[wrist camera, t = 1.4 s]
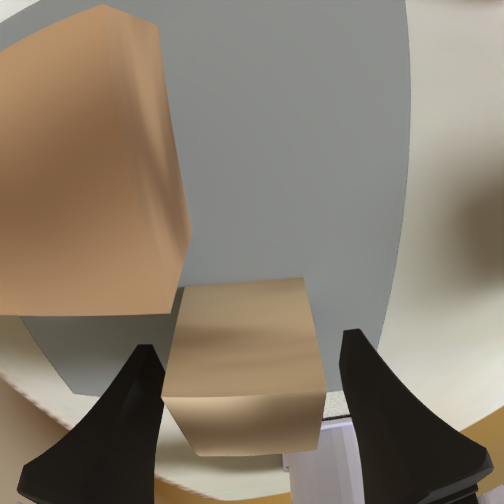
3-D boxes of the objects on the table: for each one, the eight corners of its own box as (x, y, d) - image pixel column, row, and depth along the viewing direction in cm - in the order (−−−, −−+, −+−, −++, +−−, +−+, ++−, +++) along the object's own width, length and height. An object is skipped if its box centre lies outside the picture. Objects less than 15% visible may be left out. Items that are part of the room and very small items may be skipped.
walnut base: (192, 233, 11) (170, 313, 8) (36, 251, 11) (-14, 314, 8) (158, 25, 7) (102, 4, 4) (-11, 91, 8) (-88, 118, 4)
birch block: (302, 353, 14) (316, 450, 10) (206, 360, 15) (197, 456, 10) (303, 276, 12) (327, 388, 8) (184, 286, 12) (160, 396, 8)
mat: (365, 380, 17) (366, 386, 16) (75, 389, 17) (73, 393, 17) (392, -45, 6) (397, -48, 6) (-58, 69, 7) (-63, 70, 6)
